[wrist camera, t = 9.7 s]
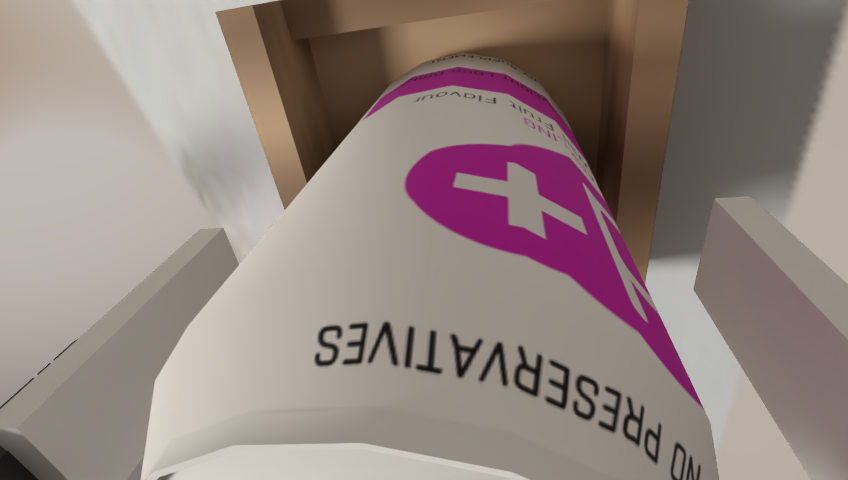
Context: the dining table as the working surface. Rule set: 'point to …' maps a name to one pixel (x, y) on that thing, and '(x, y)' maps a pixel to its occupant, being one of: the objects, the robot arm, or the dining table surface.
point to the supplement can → (435, 314)
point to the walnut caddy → (479, 35)
